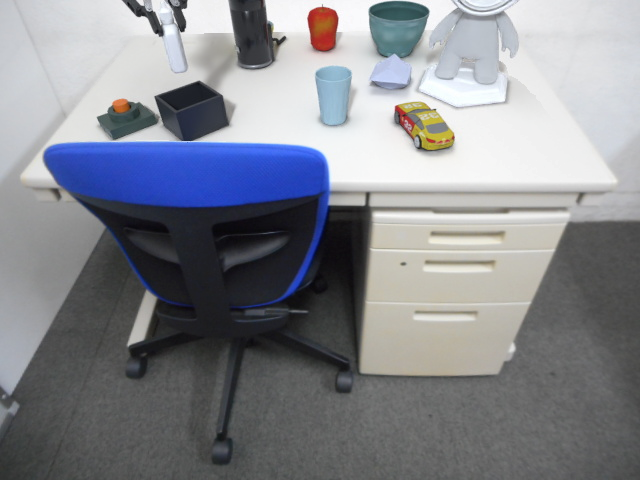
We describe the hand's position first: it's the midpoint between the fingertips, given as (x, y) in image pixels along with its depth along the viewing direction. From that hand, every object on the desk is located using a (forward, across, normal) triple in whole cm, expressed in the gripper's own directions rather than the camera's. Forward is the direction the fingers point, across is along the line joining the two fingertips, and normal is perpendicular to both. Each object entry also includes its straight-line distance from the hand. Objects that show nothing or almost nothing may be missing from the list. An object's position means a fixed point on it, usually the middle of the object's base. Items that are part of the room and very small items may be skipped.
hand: (172, 31), depth 77 cm
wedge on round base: (+19, +48, +9) cm, 53 cm away
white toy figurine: (+26, +62, +2) cm, 68 cm away
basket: (+13, 0, +15) cm, 20 cm away
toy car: (+34, +40, -6) cm, 53 cm away
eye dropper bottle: (+4, 0, +7) cm, 8 cm away
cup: (+24, +27, +5) cm, 36 cm away
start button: (+5, -13, +19) cm, 23 cm away
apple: (-2, +46, +30) cm, 55 cm away
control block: (+7, -13, +21) cm, 26 cm away
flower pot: (+8, +62, +20) cm, 65 cm away
